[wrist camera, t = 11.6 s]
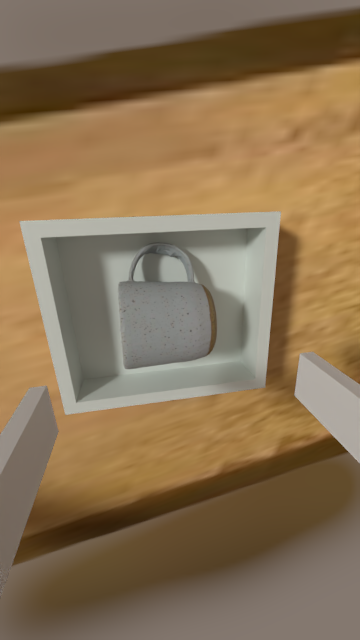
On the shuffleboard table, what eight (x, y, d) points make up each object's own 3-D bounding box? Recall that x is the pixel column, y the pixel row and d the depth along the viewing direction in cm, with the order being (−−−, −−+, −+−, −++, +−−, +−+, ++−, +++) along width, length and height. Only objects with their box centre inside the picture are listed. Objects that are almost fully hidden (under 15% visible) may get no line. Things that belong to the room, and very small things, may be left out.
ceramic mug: (199, 340, 29) (220, 376, 22) (124, 346, 28) (121, 387, 21) (199, 240, 26) (225, 244, 18) (114, 243, 24) (105, 248, 17)
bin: (76, 385, 30) (65, 414, 25) (41, 221, 24) (19, 221, 19) (246, 364, 32) (265, 387, 28) (255, 213, 26) (280, 211, 22)
